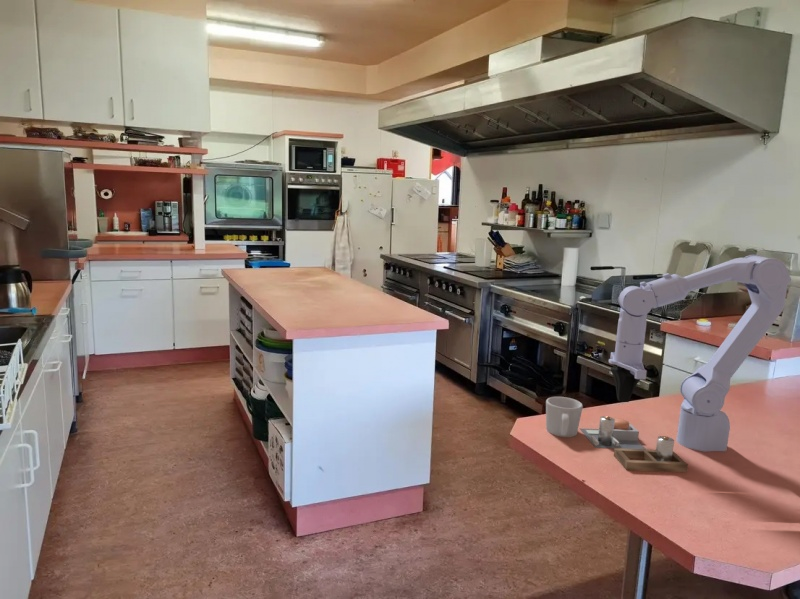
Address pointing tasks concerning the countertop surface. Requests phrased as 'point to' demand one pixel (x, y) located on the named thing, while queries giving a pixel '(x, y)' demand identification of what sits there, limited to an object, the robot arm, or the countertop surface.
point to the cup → (563, 416)
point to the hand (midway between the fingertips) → (623, 400)
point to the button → (621, 424)
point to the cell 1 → (606, 430)
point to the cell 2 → (664, 448)
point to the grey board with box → (616, 438)
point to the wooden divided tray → (648, 461)
